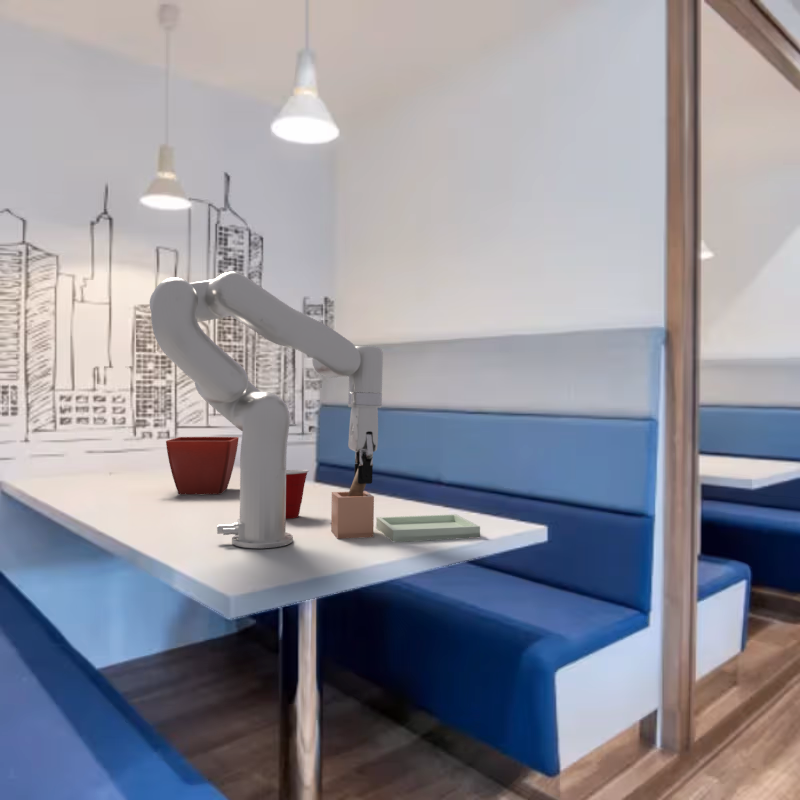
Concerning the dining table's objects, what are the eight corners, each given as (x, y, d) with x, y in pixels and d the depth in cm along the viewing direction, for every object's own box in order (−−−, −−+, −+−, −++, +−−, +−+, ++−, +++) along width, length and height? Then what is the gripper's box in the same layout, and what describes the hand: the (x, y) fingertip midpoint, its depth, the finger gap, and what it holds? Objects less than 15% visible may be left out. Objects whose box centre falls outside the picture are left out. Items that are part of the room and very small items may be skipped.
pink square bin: (337, 538, 143) (338, 497, 143) (331, 531, 151) (331, 492, 151) (373, 537, 146) (373, 496, 146) (365, 529, 153) (365, 491, 153)
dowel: (340, 524, 146) (341, 460, 146) (337, 522, 149) (339, 459, 149) (373, 523, 148) (374, 460, 148) (370, 521, 151) (371, 459, 151)
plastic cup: (290, 511, 176) (290, 466, 176) (316, 516, 169) (317, 469, 168) (256, 516, 168) (256, 469, 168) (282, 522, 161) (283, 473, 160)
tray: (392, 542, 141) (393, 530, 141) (376, 527, 156) (376, 517, 156) (479, 537, 147) (480, 526, 147) (455, 524, 161) (456, 514, 161)
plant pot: (178, 487, 215) (179, 436, 215) (238, 487, 217) (239, 436, 217) (164, 497, 196) (164, 440, 196) (230, 496, 198) (230, 440, 198)
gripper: (341, 400, 156) (340, 478, 156) (356, 401, 140) (354, 487, 140) (372, 400, 158) (371, 477, 158) (390, 401, 142) (388, 487, 142)
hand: (363, 481), depth 149 cm, fingers closed on dowel, 3 cm apart
